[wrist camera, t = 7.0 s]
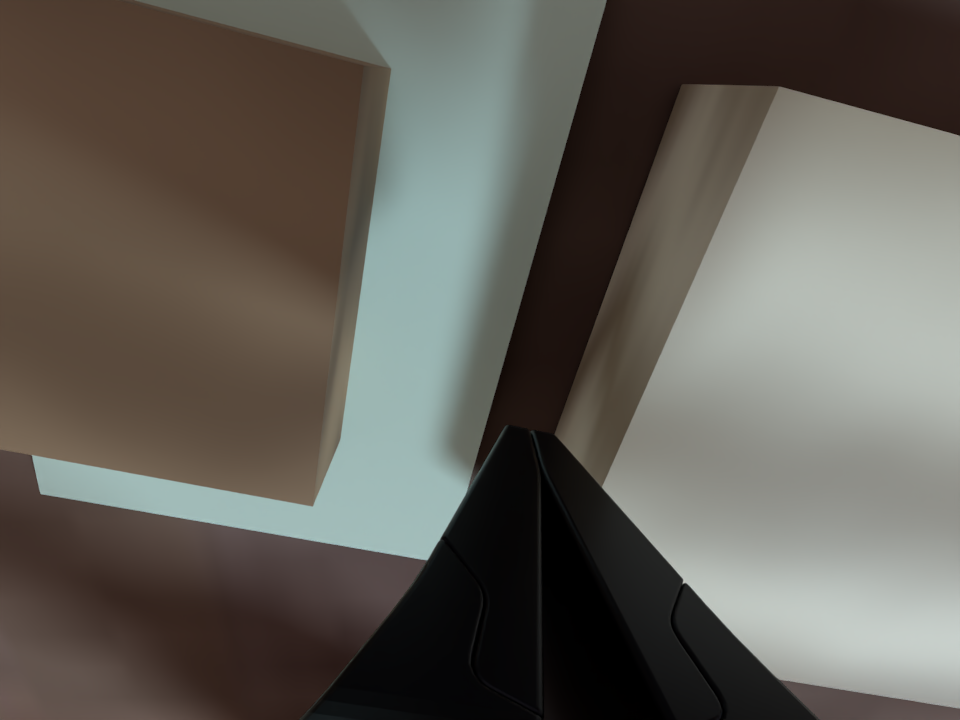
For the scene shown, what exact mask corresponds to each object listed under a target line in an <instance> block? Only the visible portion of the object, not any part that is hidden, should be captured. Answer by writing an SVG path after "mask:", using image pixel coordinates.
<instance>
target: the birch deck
mask: <svg viewBox="0 0 960 720" xmlns="http://www.w3.org/2000/svg"><path fill="white" fill-rule="evenodd" d="M554 435H556V436H557V437H558V439H559V440H560V441H561V442H562V443H563V444H564V445H565V446H566V448H567V449H568V450H569V451H570V452H571V453H572V454H573V455H574V457H575V458H576V459H577V460H578V461H579V462H580V463H581V464H582V466H583V467H584V468H585V469H586V470H587V471H588V472H589V473H590V475H591V476H592V477H593V478H594V479H595V480H596V481H597V482H598V484H599V485H600V486H601V487H602V488H603V489H604V490H605V491H606V493H607V494H608V495H609V496H610V497H611V498H612V499H613V500H614V502H615V503H616V504H617V505H618V506H619V507H620V508H621V509H622V511H623V512H624V513H625V514H626V515H627V516H628V517H629V519H630V520H631V521H632V522H633V523H634V524H635V525H636V526H637V528H638V529H639V530H640V531H641V532H642V533H643V534H644V535H645V537H646V538H647V539H648V540H649V541H650V542H651V543H652V544H653V546H654V547H655V548H656V549H657V550H658V551H659V552H660V553H661V555H662V556H663V557H664V558H665V559H666V560H667V561H668V562H669V564H670V565H671V566H672V567H673V568H674V569H675V570H676V571H677V573H678V574H679V575H680V576H681V577H682V578H683V583H687V584H688V585H689V586H690V587H691V588H692V589H693V590H694V591H695V593H696V594H697V595H698V596H699V597H700V598H701V599H702V600H703V602H704V603H705V604H706V605H707V606H708V607H709V608H710V609H711V610H712V611H713V612H714V614H715V615H716V616H717V617H718V618H719V619H720V620H721V621H722V622H723V623H724V624H725V625H726V627H727V628H728V629H729V630H730V631H731V632H732V633H733V634H734V635H735V636H736V637H737V638H738V639H739V640H740V641H741V642H742V643H743V644H744V645H745V646H746V647H747V648H748V649H749V650H750V651H751V652H752V653H753V654H754V655H755V656H756V657H757V658H758V659H759V660H760V661H761V663H762V664H763V665H764V666H765V667H766V668H767V669H768V670H769V671H770V672H771V673H772V674H773V675H774V676H775V677H777V678H778V679H780V680H786V681H792V682H799V683H805V684H811V685H817V686H824V687H830V688H836V689H842V690H848V691H855V692H861V693H867V694H873V695H880V696H886V697H892V698H898V699H904V700H911V701H917V702H923V703H929V704H936V705H942V706H948V707H954V708H960V136H959V135H956V134H952V133H948V132H945V131H941V130H937V129H934V128H930V127H926V126H923V125H919V124H915V123H912V122H908V121H904V120H901V119H897V118H893V117H890V116H886V115H882V114H879V113H875V112H871V111H868V110H864V109H860V108H857V107H853V106H849V105H846V104H842V103H838V102H835V101H831V100H827V99H824V98H820V97H816V96H813V95H809V94H805V93H802V92H798V91H794V90H791V89H787V88H783V87H780V86H744V85H702V84H682V85H681V88H680V90H679V93H678V96H677V99H676V101H675V104H674V107H673V110H672V112H671V115H670V118H669V121H668V123H667V126H666V129H665V132H664V134H663V137H662V140H661V143H660V145H659V148H658V151H657V154H656V156H655V159H654V162H653V165H652V167H651V170H650V173H649V176H648V178H647V181H646V184H645V187H644V189H643V192H642V195H641V198H640V200H639V203H638V206H637V209H636V211H635V214H634V217H633V220H632V222H631V225H630V228H629V231H628V233H627V236H626V239H625V242H624V244H623V247H622V250H621V253H620V255H619V258H618V261H617V264H616V266H615V269H614V272H613V275H612V277H611V280H610V283H609V286H608V288H607V291H606V294H605V297H604V299H603V302H602V305H601V308H600V310H599V313H598V316H597V319H596V321H595V324H594V327H593V330H592V332H591V335H590V338H589V341H588V343H587V346H586V349H585V352H584V354H583V357H582V360H581V363H580V365H579V368H578V371H577V374H576V376H575V379H574V382H573V385H572V387H571V390H570V393H569V396H568V398H567V401H566V404H565V407H564V409H563V412H562V415H561V418H560V420H559V423H558V426H557V429H556V431H555V434H554Z"/></svg>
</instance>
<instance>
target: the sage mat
mask: <svg viewBox="0 0 960 720" xmlns="http://www.w3.org/2000/svg"><path fill="white" fill-rule="evenodd" d="M135 1H139V2H142V3H146V4H150V5H154V6H157V7H161V8H165V9H169V10H172V11H176V12H180V13H184V14H187V15H191V16H195V17H199V18H203V19H206V20H210V21H214V22H218V23H221V24H225V25H229V26H233V27H236V28H240V29H244V30H248V31H251V32H255V33H259V34H263V35H266V36H270V37H274V38H278V39H281V40H285V41H289V42H293V43H296V44H300V45H304V46H308V47H311V48H315V49H319V50H323V51H326V52H330V53H334V54H338V55H341V56H345V57H349V58H353V59H357V60H360V61H364V62H368V63H372V64H375V65H379V66H383V67H387V68H390V69H391V74H390V82H389V89H388V96H387V104H386V111H385V118H384V125H383V133H382V140H381V147H380V154H379V162H378V169H377V176H376V184H375V191H374V198H373V205H372V213H371V220H370V227H369V234H368V242H367V249H366V256H365V264H364V271H363V278H362V285H361V293H360V300H359V307H358V315H357V322H356V329H355V336H354V344H353V351H352V358H351V365H350V373H349V380H348V387H347V395H346V402H345V409H344V416H343V424H342V431H341V438H340V442H339V444H338V447H337V449H336V452H335V454H334V456H333V459H332V461H331V464H330V466H329V469H328V471H327V473H326V476H325V478H324V481H323V483H322V486H321V488H320V490H319V493H318V495H317V498H316V500H315V503H314V505H313V507H312V506H307V505H301V504H296V503H290V502H285V501H279V500H274V499H268V498H263V497H258V496H252V495H247V494H241V493H236V492H230V491H225V490H219V489H214V488H208V487H203V486H198V485H192V484H187V483H181V482H176V481H170V480H165V479H159V478H154V477H148V476H143V475H138V474H132V473H127V472H121V471H116V470H110V469H105V468H99V467H94V466H88V465H83V464H77V463H72V462H67V461H61V460H56V459H50V458H45V457H39V456H34V455H32V458H33V463H34V467H35V472H36V476H37V481H38V485H39V490H40V494H44V495H50V496H55V497H61V498H67V499H73V500H79V501H85V502H90V503H96V504H102V505H108V506H114V507H120V508H125V509H131V510H137V511H143V512H149V513H154V514H160V515H166V516H172V517H178V518H184V519H189V520H195V521H201V522H207V523H213V524H218V525H224V526H230V527H236V528H242V529H248V530H253V531H259V532H265V533H271V534H277V535H283V536H288V537H294V538H300V539H306V540H312V541H317V542H323V543H329V544H335V545H341V546H347V547H352V548H358V549H364V550H370V551H376V552H382V553H387V554H393V555H399V556H405V557H411V558H416V559H422V560H428V558H429V557H430V555H431V553H432V551H433V550H434V548H435V546H436V544H437V543H438V541H440V538H441V536H442V535H443V533H444V531H445V530H446V528H447V526H448V524H449V523H450V521H451V519H452V517H453V516H454V514H455V512H456V510H457V509H458V507H459V505H460V503H461V502H462V500H463V498H464V497H465V495H466V493H467V489H468V486H469V482H470V479H471V475H472V472H473V468H474V465H475V461H476V458H477V454H478V451H479V447H480V444H481V440H482V436H483V433H484V429H485V426H486V422H487V419H488V415H489V412H490V408H491V405H492V401H493V398H494V394H495V391H496V387H497V384H498V380H499V377H500V373H501V370H502V366H503V363H504V359H505V356H506V352H507V349H508V345H509V342H510V338H511V335H512V331H513V328H514V324H515V321H516V317H517V314H518V310H519V307H520V303H521V300H522V296H523V293H524V289H525V286H526V282H527V279H528V275H529V272H530V268H531V265H532V261H533V257H534V254H535V250H536V247H537V243H538V240H539V236H540V233H541V229H542V226H543V222H544V219H545V215H546V212H547V208H548V205H549V201H550V198H551V194H552V191H553V187H554V184H555V180H556V177H557V173H558V170H559V166H560V163H561V159H562V156H563V152H564V149H565V145H566V142H567V138H568V135H569V131H570V128H571V124H572V121H573V117H574V114H575V110H576V107H577V103H578V100H579V96H580V93H581V89H582V85H583V82H584V78H585V75H586V71H587V68H588V64H589V61H590V57H591V54H592V50H593V47H594V43H595V40H596V36H597V33H598V29H599V26H600V22H601V19H602V15H603V12H604V8H605V5H606V1H607V0H135Z"/></svg>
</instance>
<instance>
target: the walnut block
mask: <svg viewBox="0 0 960 720" xmlns="http://www.w3.org/2000/svg"><path fill="white" fill-rule="evenodd" d="M390 74H391V69H390V68H387V67H383V66H379V65H375V64H372V63H368V62H364V61H360V60H357V59H353V58H349V57H345V56H341V55H338V54H334V53H330V52H326V51H323V50H319V49H315V48H311V47H308V46H304V45H300V44H296V43H293V42H289V41H285V40H281V39H278V38H274V37H270V36H266V35H263V34H259V33H255V32H251V31H248V30H244V29H240V28H236V27H233V26H229V25H225V24H221V23H218V22H214V21H210V20H206V19H203V18H199V17H195V16H191V15H187V14H184V13H180V12H176V11H172V10H169V9H165V8H161V7H157V6H154V5H150V4H146V3H142V2H139V1H135V0H0V449H1V450H7V451H12V452H17V453H23V454H28V455H34V456H39V457H45V458H50V459H56V460H61V461H67V462H72V463H77V464H83V465H88V466H94V467H99V468H105V469H110V470H116V471H121V472H127V473H132V474H138V475H143V476H148V477H154V478H159V479H165V480H170V481H176V482H181V483H187V484H192V485H198V486H203V487H208V488H214V489H219V490H225V491H230V492H236V493H241V494H247V495H252V496H258V497H263V498H268V499H274V500H279V501H285V502H290V503H296V504H301V505H307V506H312V507H313V505H314V503H315V500H316V498H317V495H318V493H319V490H320V488H321V486H322V483H323V481H324V478H325V476H326V473H327V471H328V469H329V466H330V464H331V461H332V459H333V456H334V454H335V452H336V449H337V447H338V444H339V442H340V438H341V431H342V424H343V416H344V409H345V402H346V395H347V387H348V380H349V373H350V365H351V358H352V351H353V344H354V336H355V329H356V322H357V315H358V307H359V300H360V293H361V285H362V278H363V271H364V264H365V256H366V249H367V242H368V234H369V227H370V220H371V213H372V205H373V198H374V191H375V184H376V176H377V169H378V162H379V154H380V147H381V140H382V133H383V125H384V118H385V111H386V104H387V96H388V89H389V82H390Z"/></svg>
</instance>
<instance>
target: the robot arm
mask: <svg viewBox="0 0 960 720" xmlns="http://www.w3.org/2000/svg"><path fill="white" fill-rule="evenodd" d="M299 720H819V719H818V718H817V717H816V716H815V715H814V714H813V713H812V712H811V711H810V710H809V709H808V708H807V707H806V706H805V705H804V704H803V703H802V702H801V701H800V700H799V699H798V698H797V697H796V696H795V695H794V694H793V693H792V692H791V691H790V690H789V689H788V688H787V687H786V686H785V685H784V684H783V683H782V682H781V681H780V680H779V679H778V678H777V677H775V676H774V675H773V674H772V673H771V672H770V671H769V670H768V669H767V668H766V667H765V666H764V665H763V664H762V663H761V661H760V660H759V659H758V658H757V657H756V656H755V655H754V654H753V653H752V652H751V651H750V650H749V649H748V648H747V647H746V646H745V645H744V644H743V643H742V642H741V641H740V640H739V639H738V638H737V637H736V636H735V635H734V634H733V633H732V632H731V631H730V630H729V629H728V628H727V627H726V625H725V624H724V623H723V622H722V621H721V620H720V619H719V618H718V617H717V616H716V615H715V614H714V612H713V611H712V610H711V609H710V608H709V607H708V606H707V605H706V604H705V603H704V602H703V600H702V599H701V598H700V597H699V596H698V595H697V594H696V593H695V591H694V590H693V589H692V588H691V587H690V586H689V585H688V584H687V583H683V578H682V577H681V576H680V575H679V574H678V573H677V571H676V570H675V569H674V568H673V567H672V566H671V565H670V564H669V562H668V561H667V560H666V559H665V558H664V557H663V556H662V555H661V553H660V552H659V551H658V550H657V549H656V548H655V547H654V546H653V544H652V543H651V542H650V541H649V540H648V539H647V538H646V537H645V535H644V534H643V533H642V532H641V531H640V530H639V529H638V528H637V526H636V525H635V524H634V523H633V522H632V521H631V520H630V519H629V517H628V516H627V515H626V514H625V513H624V512H623V511H622V509H621V508H620V507H619V506H618V505H617V504H616V503H615V502H614V500H613V499H612V498H611V497H610V496H609V495H608V494H607V493H606V491H605V490H604V489H603V488H602V487H601V486H600V485H599V484H598V482H597V481H596V480H595V479H594V478H593V477H592V476H591V475H590V473H589V472H588V471H587V470H586V469H585V468H584V467H583V466H582V464H581V463H580V462H579V461H578V460H577V459H576V458H575V457H574V455H573V454H572V453H571V452H570V451H569V450H568V449H567V448H566V446H565V445H564V444H563V443H562V442H561V441H560V440H559V439H558V437H557V436H556V435H554V434H552V433H547V432H542V431H537V430H532V431H531V432H530V431H529V430H528V429H527V428H522V427H517V426H512V425H506V426H505V427H504V429H503V431H502V432H501V434H500V436H499V438H498V439H497V441H496V443H495V444H494V446H493V448H492V450H491V451H490V453H489V455H488V457H487V458H486V460H485V462H484V464H483V465H482V467H481V469H480V471H479V472H478V474H477V476H476V477H475V479H474V481H473V483H472V484H471V486H470V488H469V490H468V491H467V493H466V495H465V497H464V498H463V500H462V502H461V503H460V505H459V507H458V509H457V510H456V512H455V514H454V516H453V517H452V519H451V521H450V523H449V524H448V526H447V528H446V530H445V531H444V533H443V535H442V536H441V538H440V541H438V543H437V544H436V546H435V548H434V550H433V551H432V553H431V555H430V557H429V558H428V560H427V561H426V563H425V565H424V566H423V568H422V569H421V571H420V572H419V574H418V575H417V577H416V579H415V580H414V582H413V583H412V585H411V586H410V587H409V589H408V590H407V591H406V593H405V594H404V595H403V597H402V598H401V599H400V601H399V602H398V603H397V605H396V606H395V607H394V608H393V610H392V611H391V612H390V614H389V615H388V616H387V617H386V618H385V620H384V621H383V622H382V623H381V625H380V626H379V627H378V628H377V629H376V631H375V632H374V633H373V634H372V635H371V637H370V638H369V639H368V640H367V641H366V643H365V644H364V645H363V646H362V648H361V649H360V650H359V651H358V652H357V654H356V655H355V656H354V657H353V658H352V660H351V661H350V662H349V663H348V664H347V666H346V667H345V668H344V669H343V671H342V672H341V673H340V674H339V675H338V677H337V678H336V679H335V680H334V681H333V683H332V684H331V685H330V686H329V687H328V689H327V690H326V691H325V692H324V693H323V694H322V695H321V697H320V698H319V699H318V700H317V701H316V702H315V703H314V704H313V705H312V707H311V708H310V709H309V710H308V711H307V712H306V713H305V714H304V715H303V716H302V717H301V718H300V719H299Z"/></svg>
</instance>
